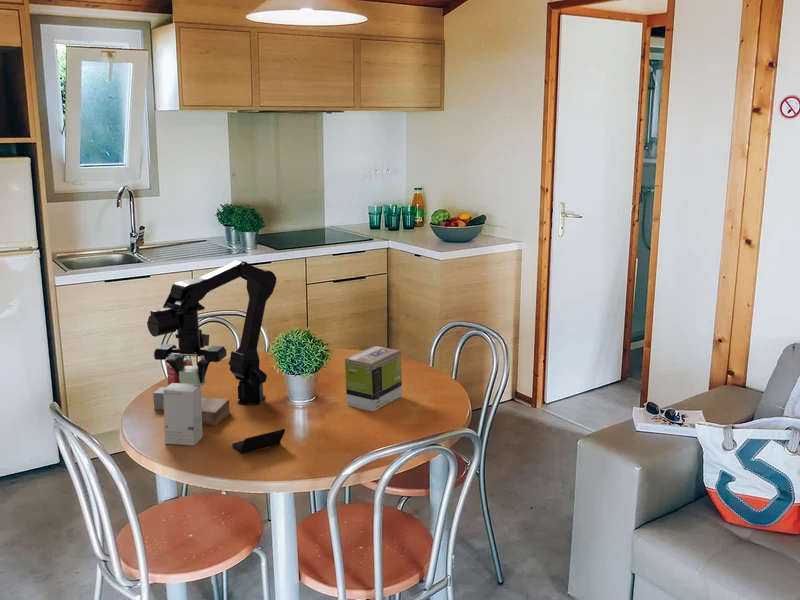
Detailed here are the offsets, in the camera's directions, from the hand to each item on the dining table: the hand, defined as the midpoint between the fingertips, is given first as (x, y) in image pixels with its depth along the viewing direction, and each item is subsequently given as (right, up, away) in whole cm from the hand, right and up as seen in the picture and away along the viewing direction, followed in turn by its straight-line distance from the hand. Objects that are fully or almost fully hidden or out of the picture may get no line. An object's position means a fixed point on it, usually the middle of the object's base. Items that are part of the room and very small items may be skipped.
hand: (192, 382), depth 211 cm
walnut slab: (+3, -10, +3) cm, 11 cm away
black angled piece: (+21, -15, -16) cm, 30 cm away
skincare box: (+1, -14, -12) cm, 18 cm away
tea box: (+49, -7, +16) cm, 52 cm away
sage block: (0, -1, 0) cm, 1 cm away
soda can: (-9, -7, +19) cm, 22 cm away
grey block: (-11, -8, +12) cm, 18 cm away
